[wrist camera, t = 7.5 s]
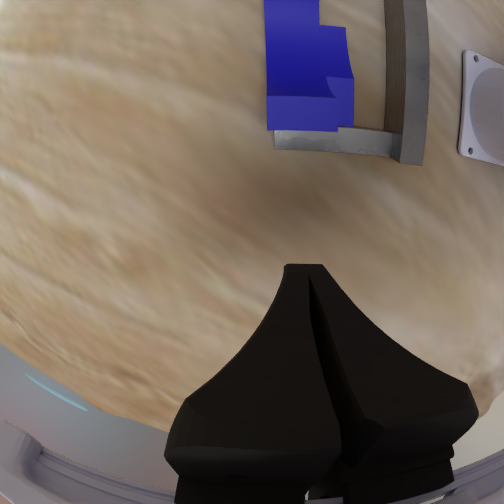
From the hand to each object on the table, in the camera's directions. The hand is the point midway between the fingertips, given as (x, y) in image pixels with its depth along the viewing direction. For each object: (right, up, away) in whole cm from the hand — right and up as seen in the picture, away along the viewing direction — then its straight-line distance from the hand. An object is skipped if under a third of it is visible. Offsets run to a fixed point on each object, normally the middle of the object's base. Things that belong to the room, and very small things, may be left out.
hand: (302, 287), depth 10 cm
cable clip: (+1, +15, +3) cm, 15 cm away
